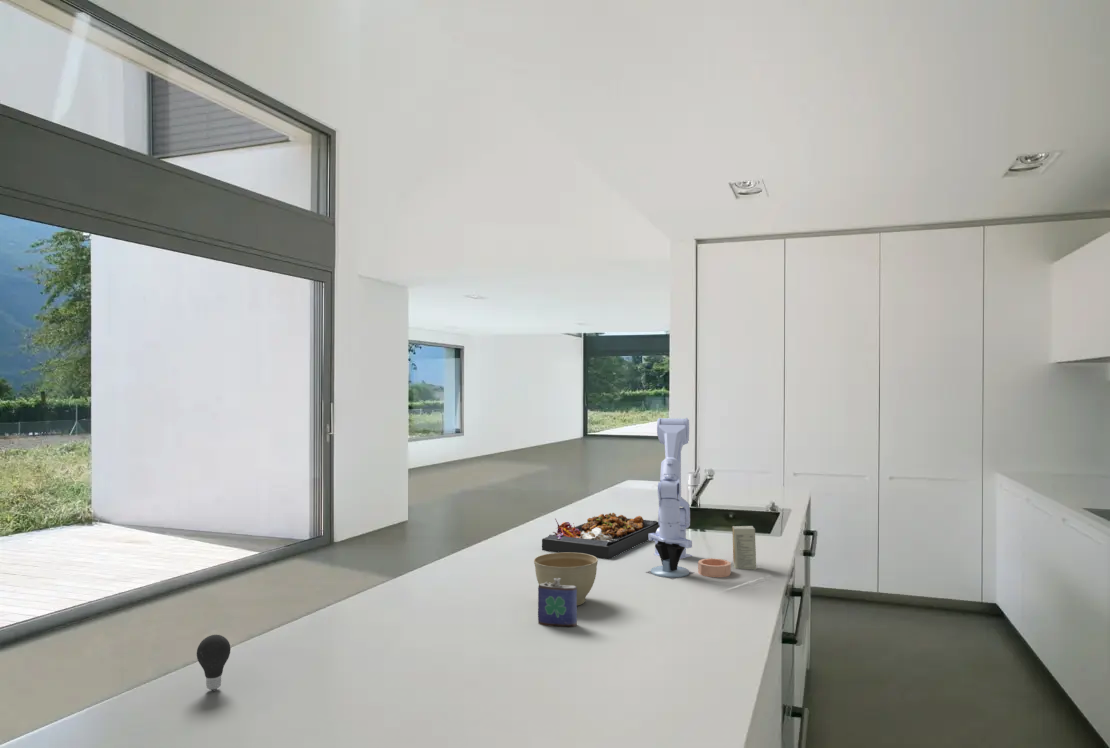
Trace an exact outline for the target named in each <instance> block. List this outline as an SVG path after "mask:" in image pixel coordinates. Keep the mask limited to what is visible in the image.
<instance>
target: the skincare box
mask: <svg viewBox="0 0 1110 748" xmlns="http://www.w3.org/2000/svg"><path fill="white" fill-rule="evenodd" d="M756 548H757V547H756V528H755V527H754V526H753V525H741V526H740V525H736V526H735V525H733V526H732V556H733V557H732V559H733V568H734V569H735V570H736V569H737V570H754V571H755V570H757V551H756Z"/></svg>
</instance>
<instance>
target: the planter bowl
mask: <svg viewBox="0 0 1110 748" xmlns="http://www.w3.org/2000/svg"><path fill="white" fill-rule="evenodd" d="M598 562H599V558H596V557H595V556H592V555H589V554H584V553H570V552H564V553H559V552H552V553H546V554H542V555H538V556H536V557H534V560H533V564H534V569H535V576H536V581H537V583H538V585H539V584H541V583H545V582H547V583H548V584H549V582H550V583H553V582H554V581H555V580H554V578H561V580H560V581H559V582H560V585H569V586H571V585H572V586H576V588H577V606H581V605H582V604H583V605H584V603H585V602H586V598H587V596H588V595H589V593H590V591H591V590H592V588H593V586H594V583H595V580H596V577H597V569H598V568H597V567H598Z"/></svg>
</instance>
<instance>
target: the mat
mask: <svg viewBox="0 0 1110 748" xmlns="http://www.w3.org/2000/svg"><path fill="white" fill-rule="evenodd" d="M644 573H646V574H650V575H653V574H652V573H651V570H648V571H645V572H644ZM693 574H695V572H693V571H690V570H689V575H693ZM664 578H665V579H669V580H675V579H679V578H680V577H677V578H668V577H664Z"/></svg>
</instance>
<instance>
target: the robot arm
mask: <svg viewBox="0 0 1110 748" xmlns="http://www.w3.org/2000/svg"><path fill="white" fill-rule="evenodd" d="M656 435H657V438H658V441H659V443H660V444H662V445H664V453H665V457H664V459H663V460H661V463H660V476H659V477H660V479H659V481H658V482H657V498H658V511H657V513H658V514H657V517H658V519H657V522H658V524H659V526H660V527H659V528H658V529H657V531H656V533H650V534H648V538H649V540H648V541H653V542H654V553H653V556H656V557H659V558H660V561H661V566H663V562H662V560H666V559H670V569H671V570H672V571H673V570H677V566H678V565H679V562H680V560H682V559H685V558H689V557H692V556H693V554H691V553H687V549H691V548H693V540H691V539H687V533H686V532H687V529H688V528H689V527H690V526H691V509H690V503H689V502H688V501H687V500H686V499H684V498H683V497H682V449H683V447H684V445H687V444H689V441H690V419H689V418H688V417H685V418H681V417H677V418H675V417H670V418H669V417H667V418H665V417H664V418H663V417H658V418H657V421H656Z"/></svg>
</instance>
